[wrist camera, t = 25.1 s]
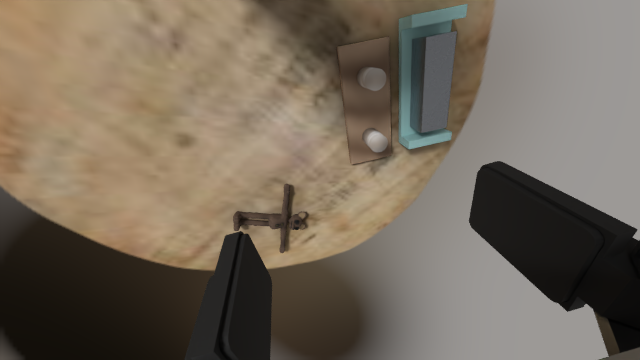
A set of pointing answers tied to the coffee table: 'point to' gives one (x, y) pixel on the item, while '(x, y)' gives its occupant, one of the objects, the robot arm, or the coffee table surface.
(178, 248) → the coffee table surface
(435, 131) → the slot holder
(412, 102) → the steel bar
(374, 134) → the peg stand
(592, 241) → the robot arm
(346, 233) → the coffee table surface
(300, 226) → the bear figurine
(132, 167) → the coffee table surface
